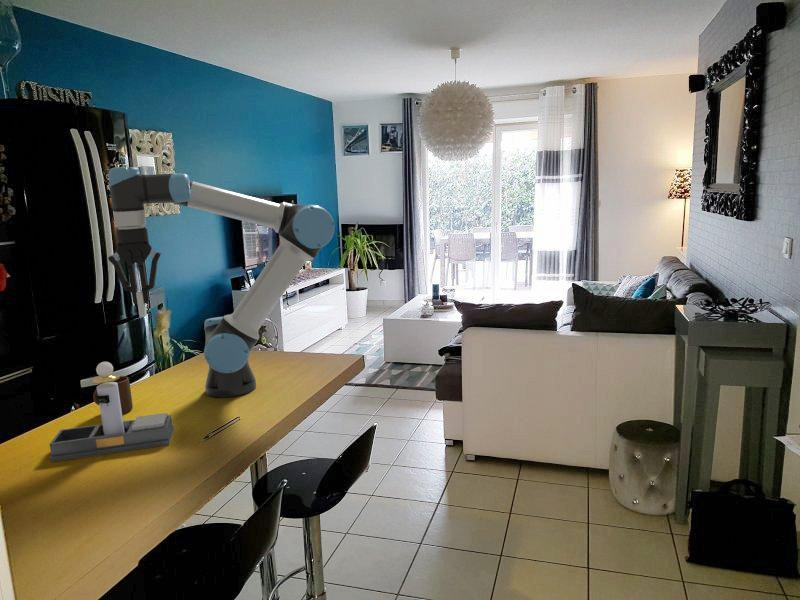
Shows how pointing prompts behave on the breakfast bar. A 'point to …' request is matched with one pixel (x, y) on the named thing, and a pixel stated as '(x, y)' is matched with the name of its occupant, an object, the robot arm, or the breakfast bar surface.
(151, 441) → the rack
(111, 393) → the perfume bottle
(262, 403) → the breakfast bar surface
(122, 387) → the mug
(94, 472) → the breakfast bar surface
